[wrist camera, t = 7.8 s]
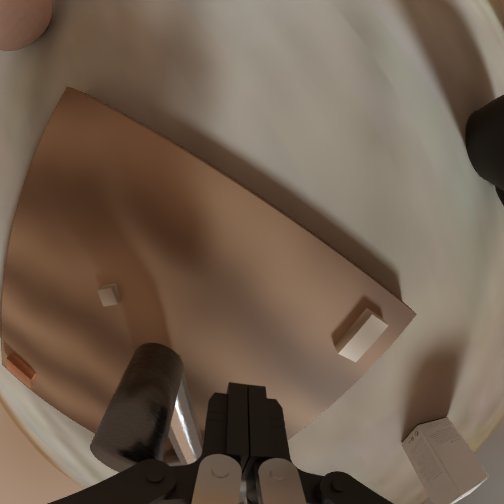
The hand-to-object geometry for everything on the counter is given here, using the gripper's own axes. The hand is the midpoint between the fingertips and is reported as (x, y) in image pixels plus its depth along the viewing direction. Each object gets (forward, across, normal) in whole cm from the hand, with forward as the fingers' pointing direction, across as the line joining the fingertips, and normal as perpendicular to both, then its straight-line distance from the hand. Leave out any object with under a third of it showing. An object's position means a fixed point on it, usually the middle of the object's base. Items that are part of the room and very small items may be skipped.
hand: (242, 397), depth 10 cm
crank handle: (+4, +2, +10) cm, 11 cm away
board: (+7, +6, +4) cm, 10 cm away
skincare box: (+7, -25, +14) cm, 30 cm away
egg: (+7, +19, -19) cm, 28 cm away
